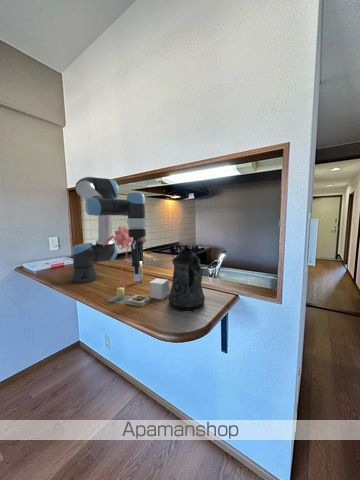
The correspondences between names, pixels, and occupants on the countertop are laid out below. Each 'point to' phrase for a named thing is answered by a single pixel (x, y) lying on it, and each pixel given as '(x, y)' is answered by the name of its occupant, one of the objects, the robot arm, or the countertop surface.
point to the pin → (140, 274)
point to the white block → (159, 288)
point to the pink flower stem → (123, 245)
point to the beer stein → (186, 283)
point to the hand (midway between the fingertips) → (138, 279)
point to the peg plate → (120, 296)
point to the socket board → (139, 303)
